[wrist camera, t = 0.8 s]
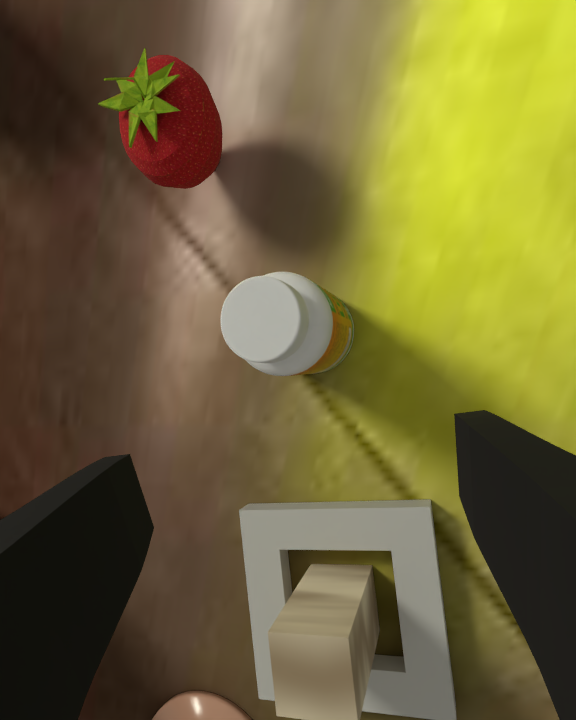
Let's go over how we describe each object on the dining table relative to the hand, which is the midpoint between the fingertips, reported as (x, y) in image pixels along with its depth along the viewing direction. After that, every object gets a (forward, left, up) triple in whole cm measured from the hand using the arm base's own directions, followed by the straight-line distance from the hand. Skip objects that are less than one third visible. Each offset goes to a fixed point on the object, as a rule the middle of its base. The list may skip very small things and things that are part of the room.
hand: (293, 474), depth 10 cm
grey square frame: (-12, +4, -19) cm, 23 cm away
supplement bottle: (+5, +4, -20) cm, 21 cm away
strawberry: (+18, +10, -20) cm, 29 cm away
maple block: (-12, +4, -19) cm, 23 cm away
